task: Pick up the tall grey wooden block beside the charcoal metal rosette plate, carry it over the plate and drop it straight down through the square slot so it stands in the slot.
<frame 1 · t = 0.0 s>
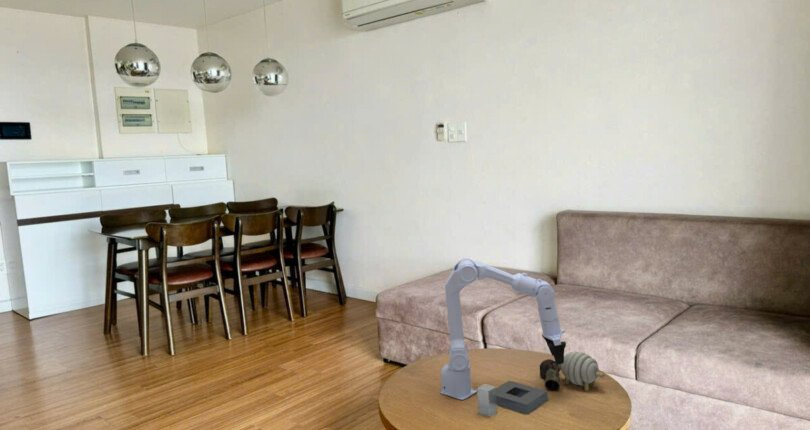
hand: (557, 359, 180), 11 cm above the table, tool pointing down, fingers open, 7 cm apart
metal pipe: (550, 381, 190), on the table
rosette plate: (517, 401, 175), on the table
toy sheep: (580, 386, 184), on the table
grey wooden block: (487, 413, 169), on the table
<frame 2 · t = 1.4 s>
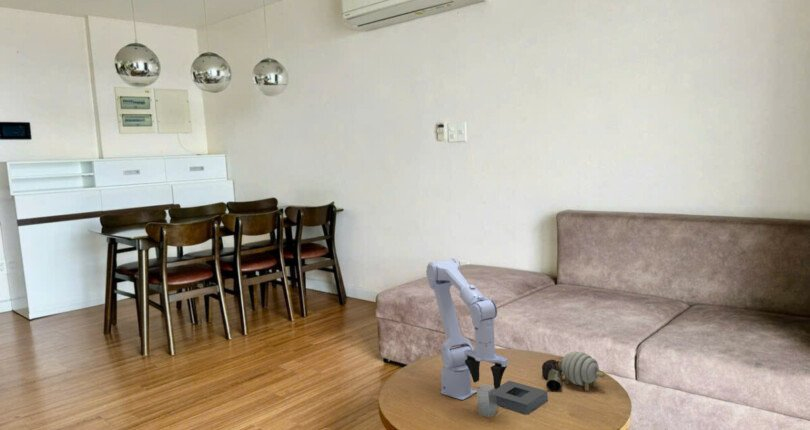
hand: (486, 384, 168), 9 cm above the table, tool pointing down, fingers open, 7 cm apart
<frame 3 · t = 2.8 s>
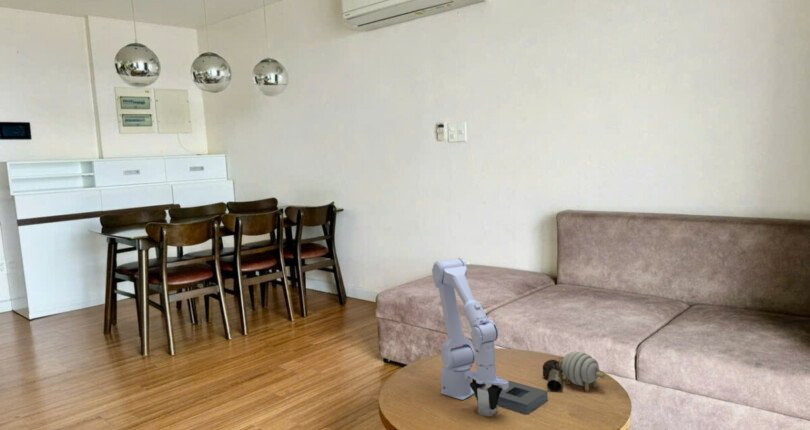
hand: (487, 406, 169), 2 cm above the table, tool pointing down, fingers closed on grey wooden block, 4 cm apart
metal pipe: (553, 382, 189), on the table, touching toy sheep
toy sheep: (581, 386, 184), on the table, touching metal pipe
grey wooden block: (487, 412, 169), on the table, touching gripper
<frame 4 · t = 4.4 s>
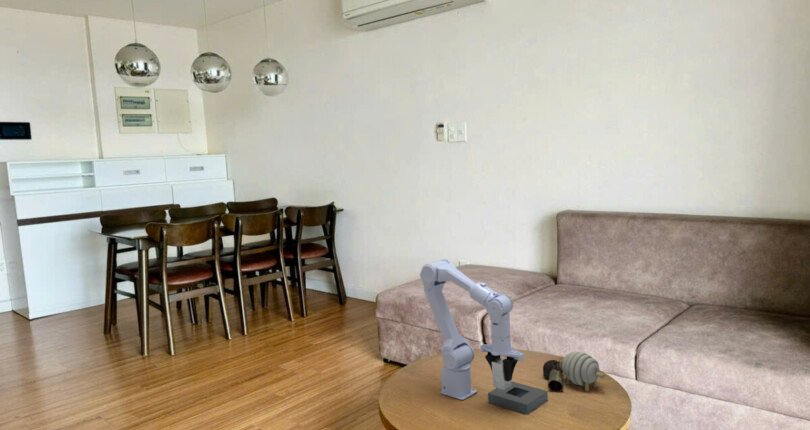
hand: (502, 378, 171), 9 cm above the table, tool pointing down, fingers closed on grey wooden block, 4 cm apart
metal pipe: (553, 382, 189), on the table
toy sheep: (581, 386, 184), on the table
grey wooden block: (502, 386, 171), point 7 cm above the table, touching gripper
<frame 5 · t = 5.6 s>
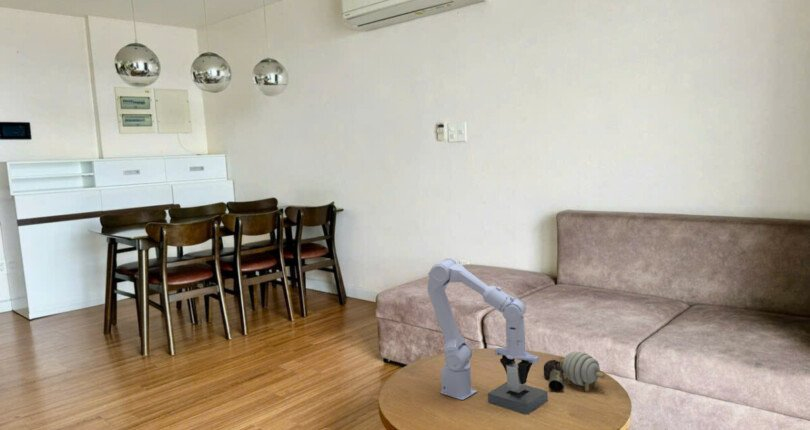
hand: (517, 381, 175), 6 cm above the table, tool pointing down, fingers closed on grey wooden block, 4 cm apart
grey wooden block: (516, 389, 175), point 4 cm above the table, touching gripper
everything else where it was.
when the fingers open (4 cm above the table, at t = 6.5 s): grey wooden block drops 1 cm, resting in rosette plate.
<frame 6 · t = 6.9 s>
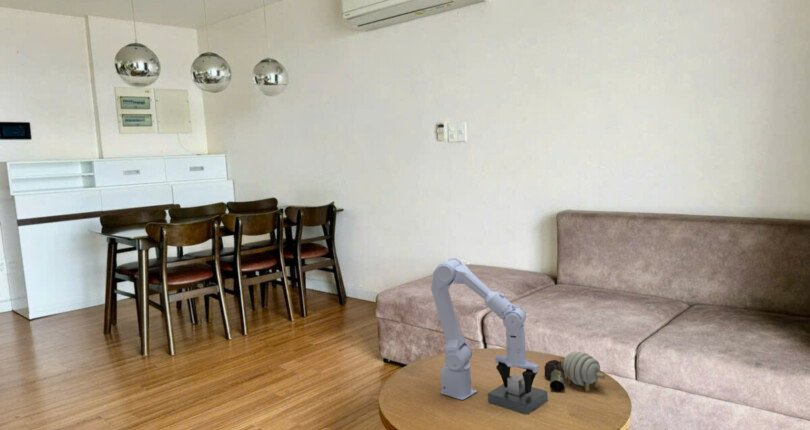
hand: (517, 389, 175), 4 cm above the table, tool pointing down, fingers open, 7 cm apart
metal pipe: (555, 382, 189), on the table, touching toy sheep
toy sheep: (582, 387, 184), on the table, touching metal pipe
grey wooden block: (517, 401, 175), resting in rosette plate
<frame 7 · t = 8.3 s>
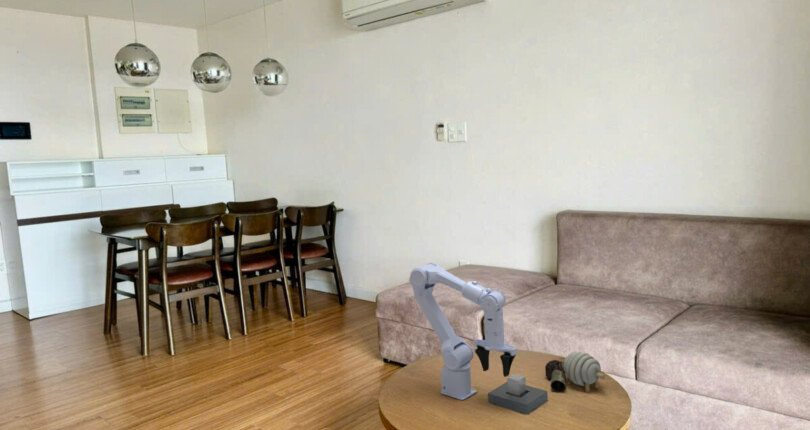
hand: (496, 372, 175), 9 cm above the table, tool pointing down, fingers open, 7 cm apart
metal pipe: (556, 382, 189), on the table
toy sheep: (582, 387, 184), on the table
everything else where it was.
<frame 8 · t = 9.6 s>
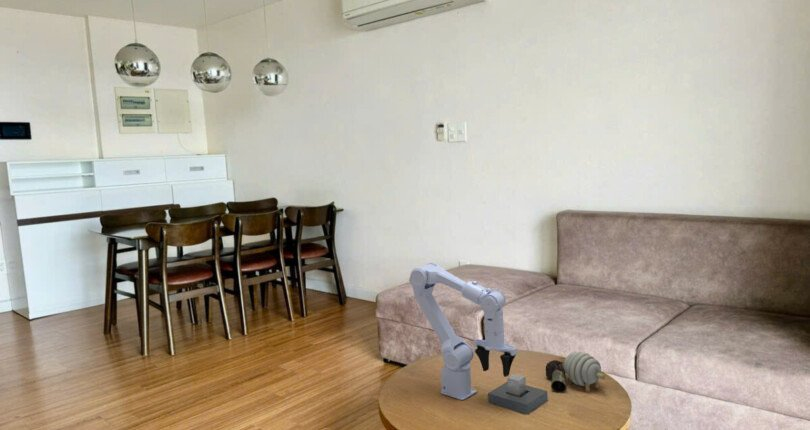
hand: (496, 372, 175), 9 cm above the table, tool pointing down, fingers open, 7 cm apart
nothing on the table moved.
at the end: grey wooden block 0.4 cm off-centre on the rosette plate, point 0.0 cm above the rosette plate's base; grey wooden block tilted 0°; the gripper is holding nothing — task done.
